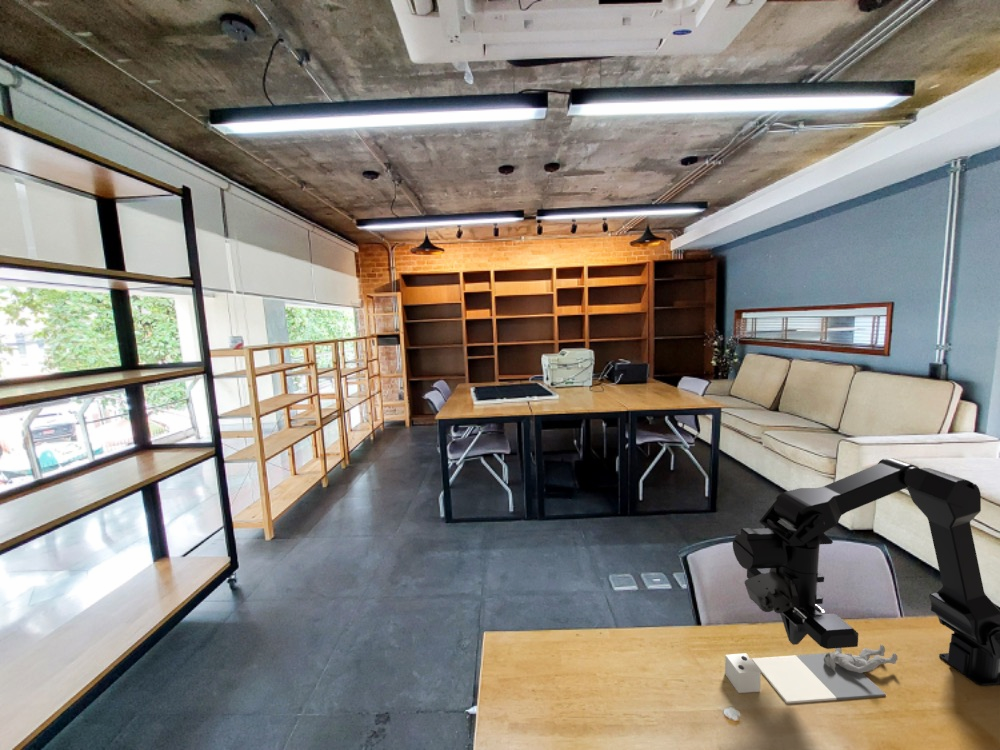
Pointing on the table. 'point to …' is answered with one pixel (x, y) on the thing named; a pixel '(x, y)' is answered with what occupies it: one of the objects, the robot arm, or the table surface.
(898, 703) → the table surface
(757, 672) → the die
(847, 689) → the board
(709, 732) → the table surface
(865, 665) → the soldier figure
